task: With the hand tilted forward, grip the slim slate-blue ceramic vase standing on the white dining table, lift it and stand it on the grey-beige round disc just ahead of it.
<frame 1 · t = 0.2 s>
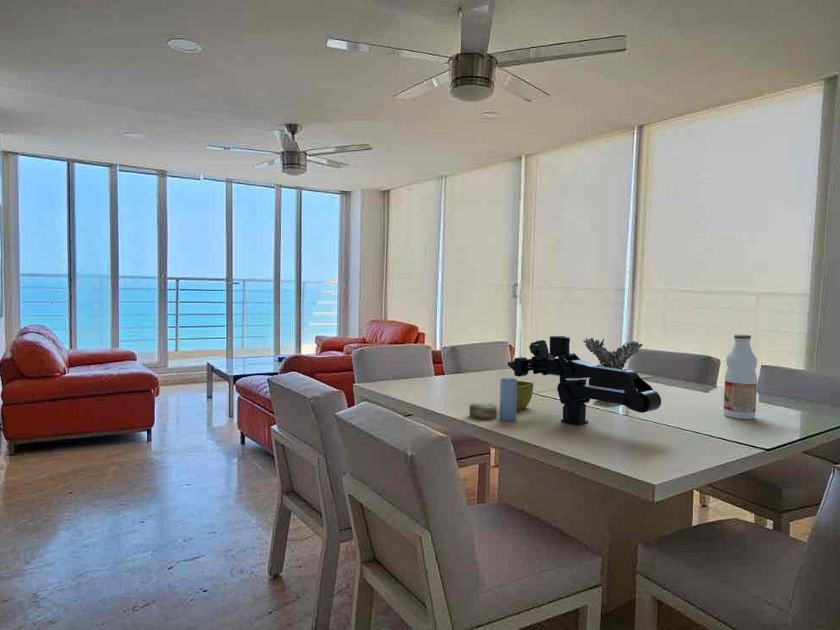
hand: (516, 362, 193), 16 cm above the table, tool horizontal, fingers open, 9 cm apart
grey-beige round disc: (482, 416, 180), on the table
flower pot: (517, 408, 193), on the table
coral: (610, 387, 237), on the table
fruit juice: (739, 417, 184), on the table
vase: (507, 419, 176), on the table
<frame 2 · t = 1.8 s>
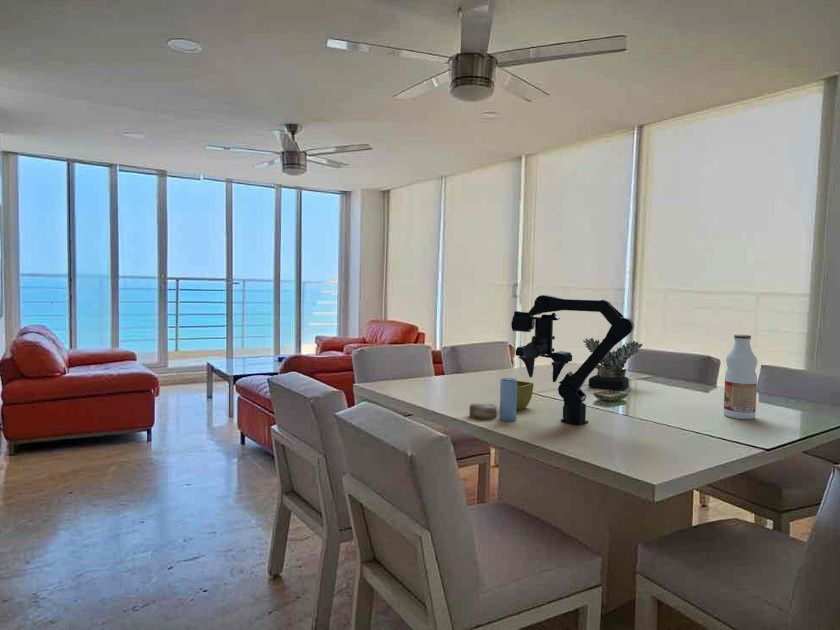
hand: (542, 379, 178), 13 cm above the table, tool pointing down, fingers open, 9 cm apart
nothing on the table moved.
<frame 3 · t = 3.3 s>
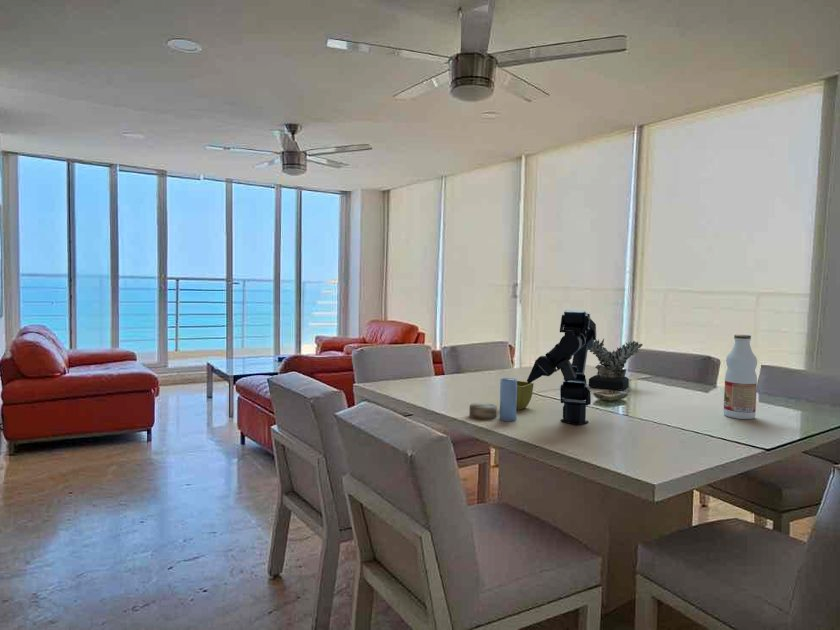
hand: (531, 380, 172), 13 cm above the table, tool tilted 45°, fingers open, 9 cm apart
nothing on the table moved.
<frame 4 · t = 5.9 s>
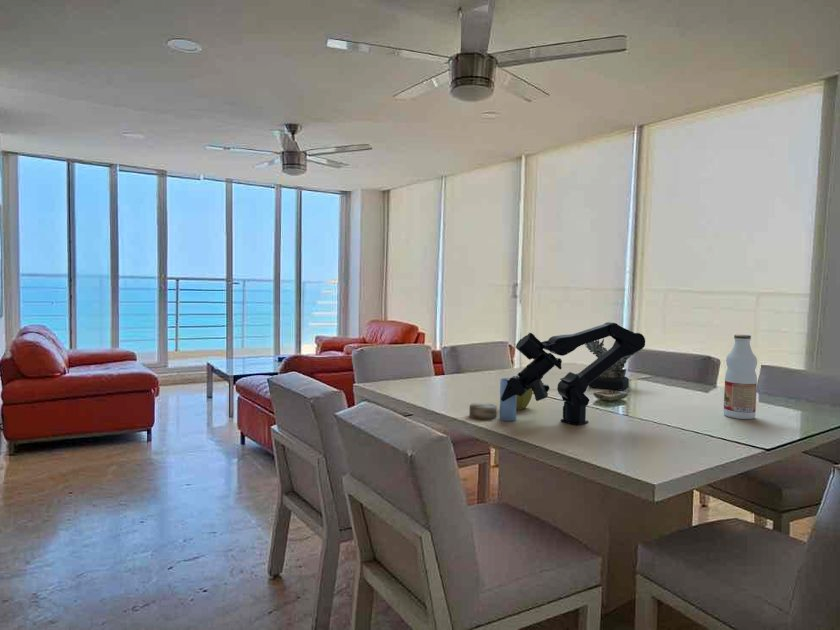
hand: (504, 398, 177), 7 cm above the table, tool tilted 45°, fingers closed on vase, 5 cm apart
vase: (507, 419, 176), on the table, touching gripper
everything else where it was.
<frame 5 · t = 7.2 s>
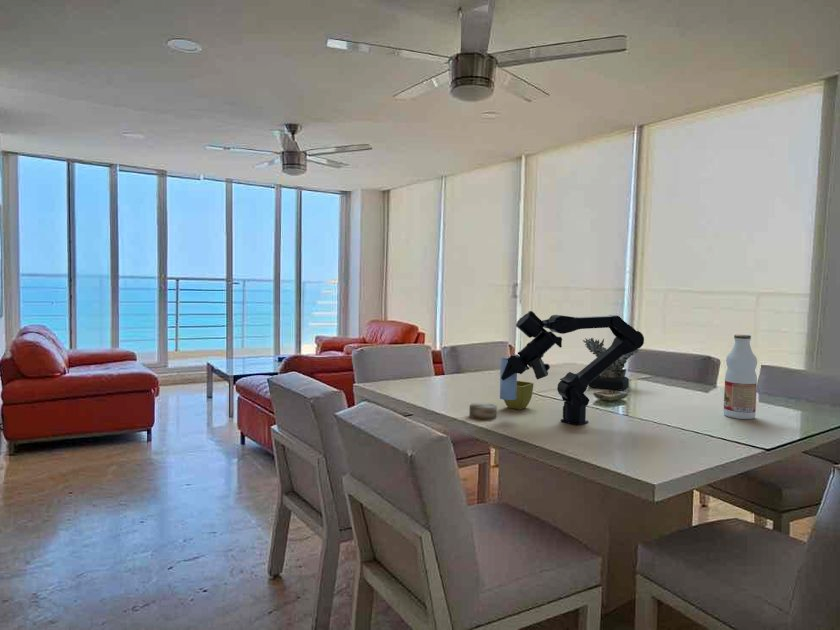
hand: (504, 378, 176), 13 cm above the table, tool tilted 45°, fingers closed on vase, 5 cm apart
vase: (508, 398, 176), point 7 cm above the table, touching gripper
everything else where it was.
when the fingers open (11 cm above the table, at t = 8.8 s): vase stays where it is, resting on grey-beige round disc.
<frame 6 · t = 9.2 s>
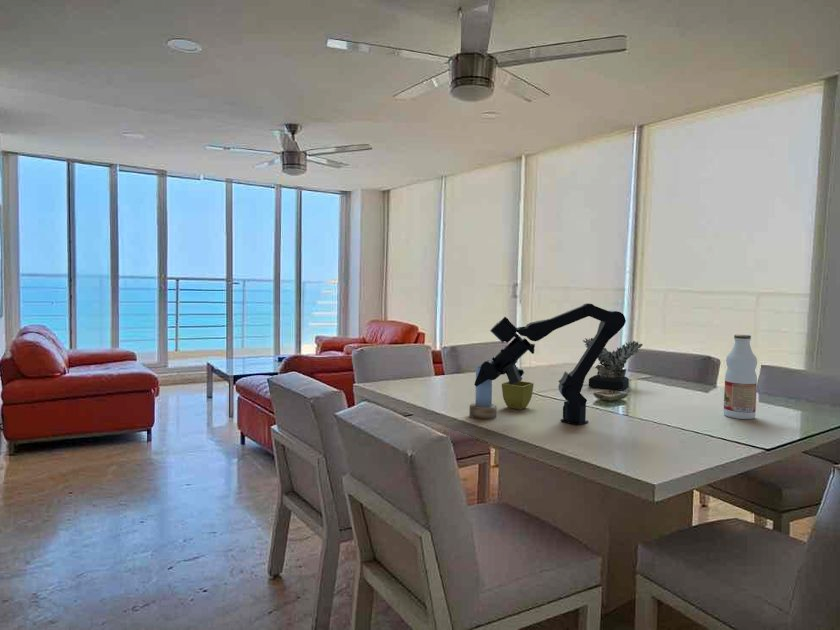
hand: (479, 383, 180), 11 cm above the table, tool tilted 45°, fingers open, 9 cm apart
vase: (483, 405, 180), point 4 cm above the table, touching grey-beige round disc
everything else where it was.
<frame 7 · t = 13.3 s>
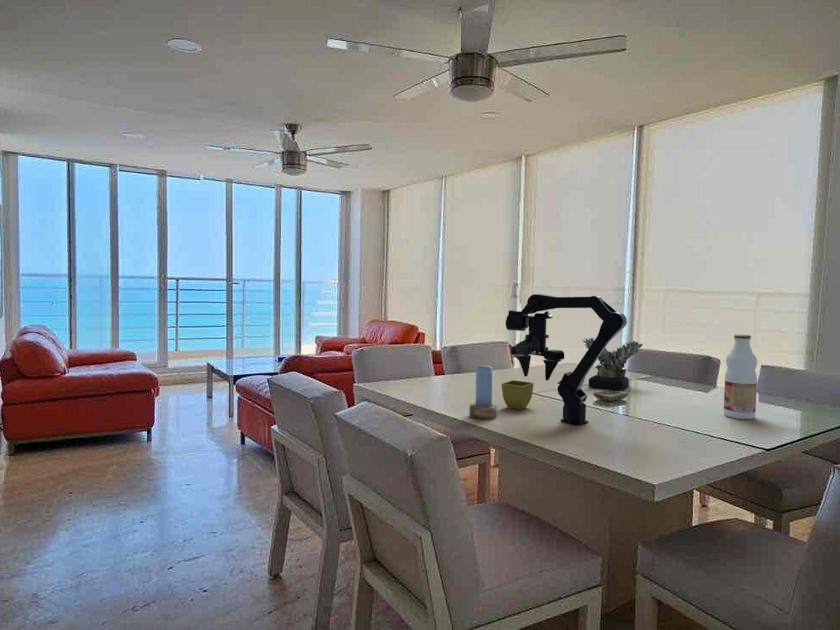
hand: (536, 378, 179), 13 cm above the table, tool pointing down, fingers open, 9 cm apart
nothing on the table moved.
at the end: vase 0.1 cm off-centre on the grey-beige round disc, point 3.6 cm above the grey-beige round disc's base; vase tilted 0°; the gripper is holding nothing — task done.
